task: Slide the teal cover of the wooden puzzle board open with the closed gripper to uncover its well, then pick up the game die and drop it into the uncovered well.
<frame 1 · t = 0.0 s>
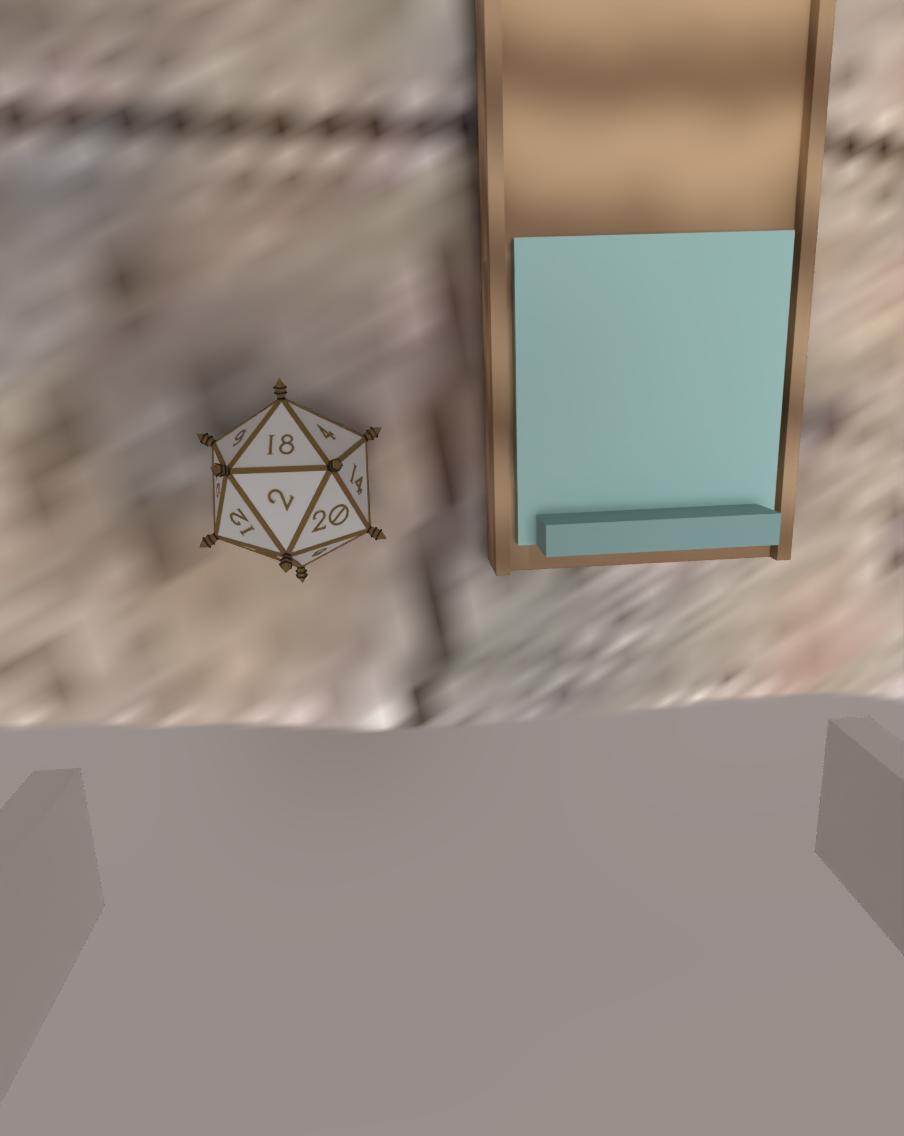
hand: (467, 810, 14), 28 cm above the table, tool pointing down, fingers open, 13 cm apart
cover: (657, 394, 36), point 4 cm above the table, slide at 0.0 cm
game die: (301, 473, 40), on the table
board: (633, 250, 38), on the table
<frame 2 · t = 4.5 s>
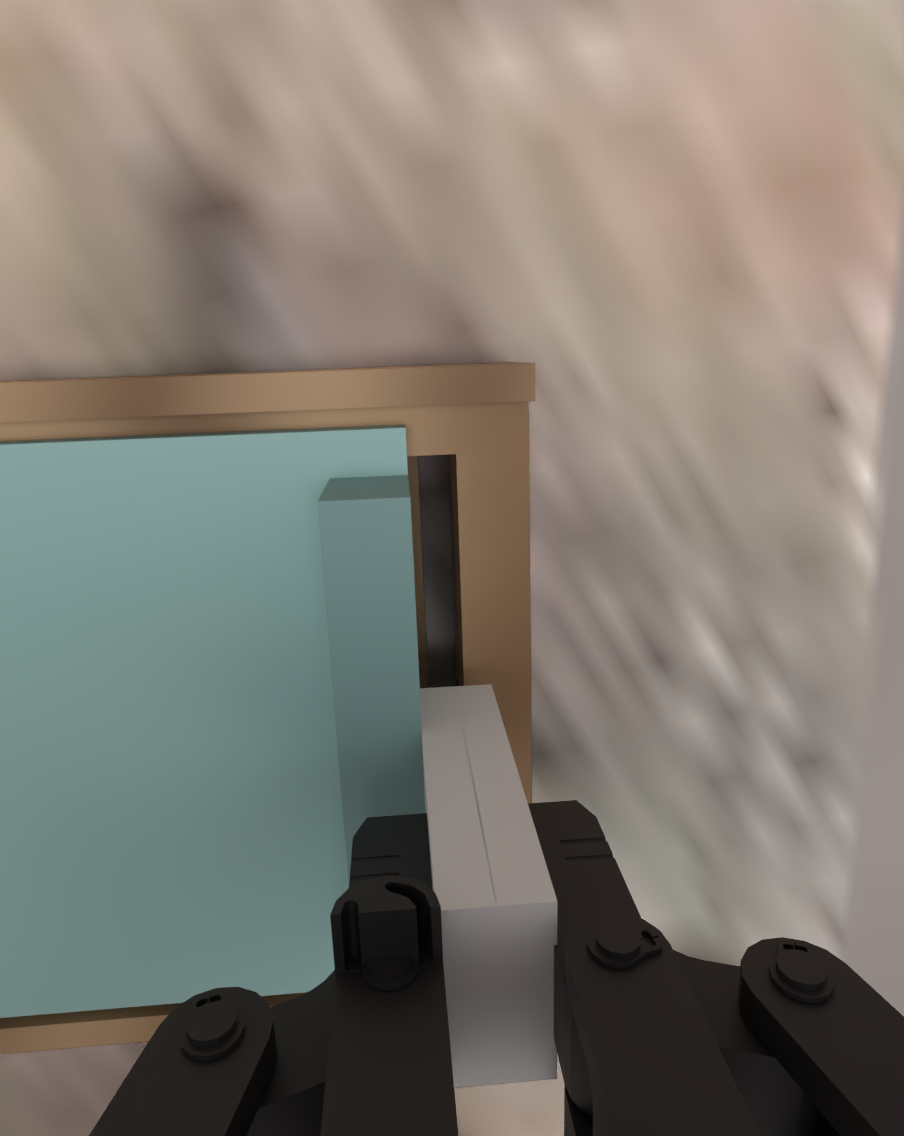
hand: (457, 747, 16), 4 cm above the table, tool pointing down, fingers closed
cover: (65, 776, 15), point 4 cm above the table, slide at 1.0 cm, touching gripper
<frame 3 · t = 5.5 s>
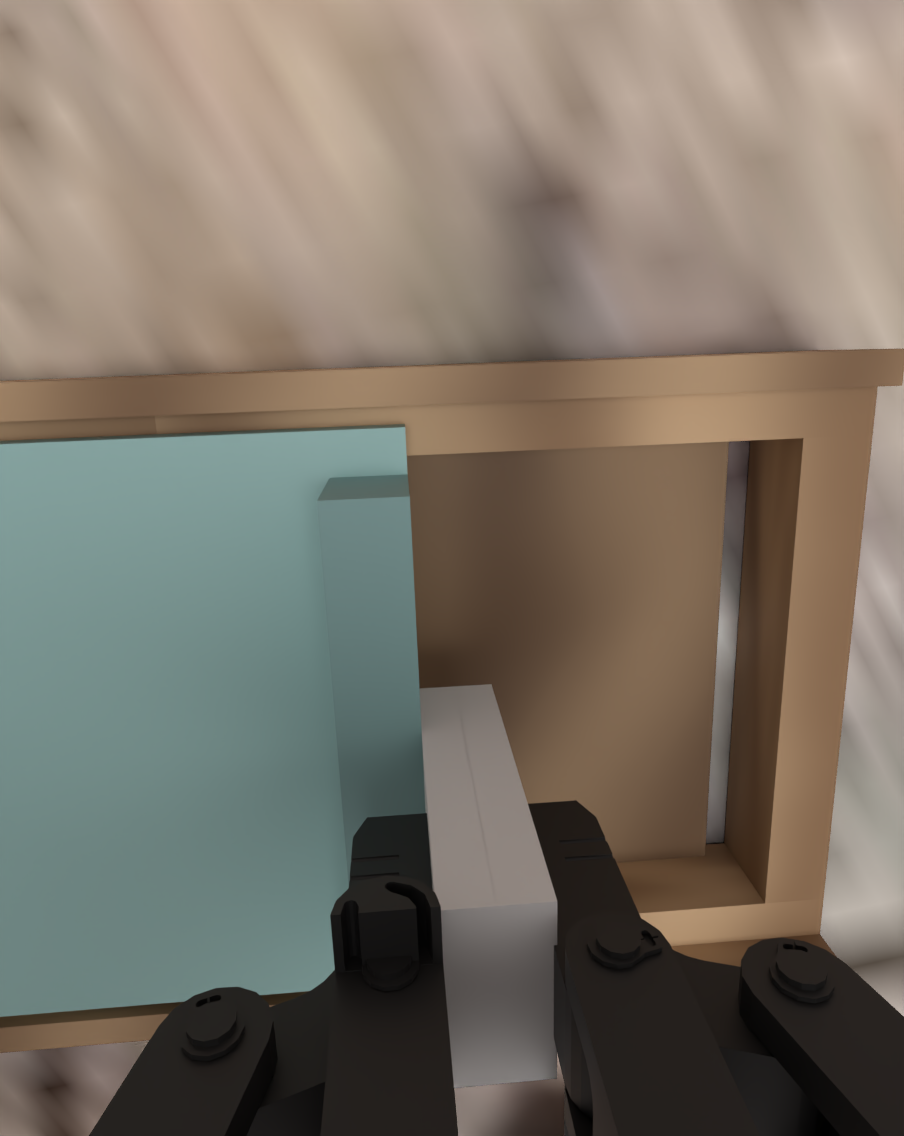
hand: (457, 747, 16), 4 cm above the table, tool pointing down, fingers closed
cover: (66, 775, 15), point 4 cm above the table, slide at 8.4 cm, touching gripper
board: (200, 683, 19), on the table
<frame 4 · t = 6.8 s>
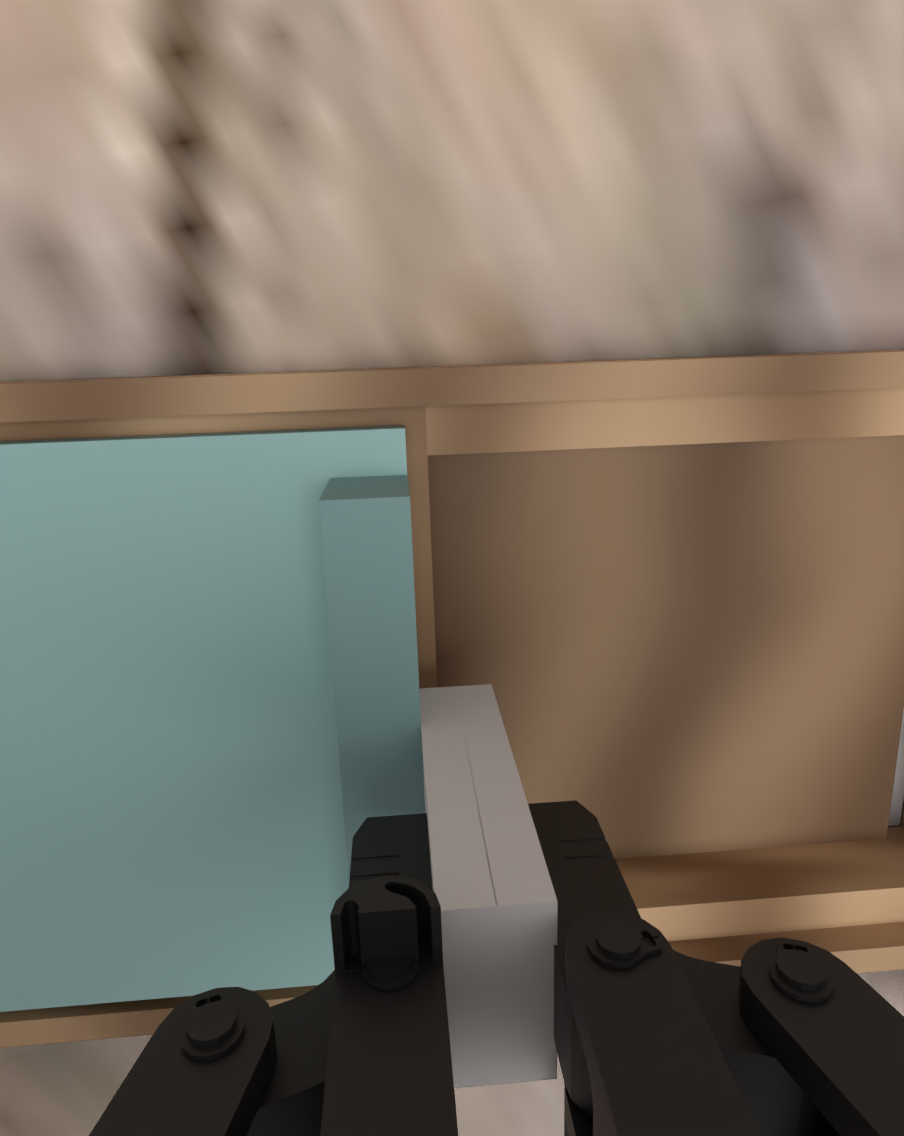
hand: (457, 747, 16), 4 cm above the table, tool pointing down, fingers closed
cover: (69, 771, 15), point 4 cm above the table, slide at 13.7 cm, touching gripper
board: (413, 668, 20), on the table
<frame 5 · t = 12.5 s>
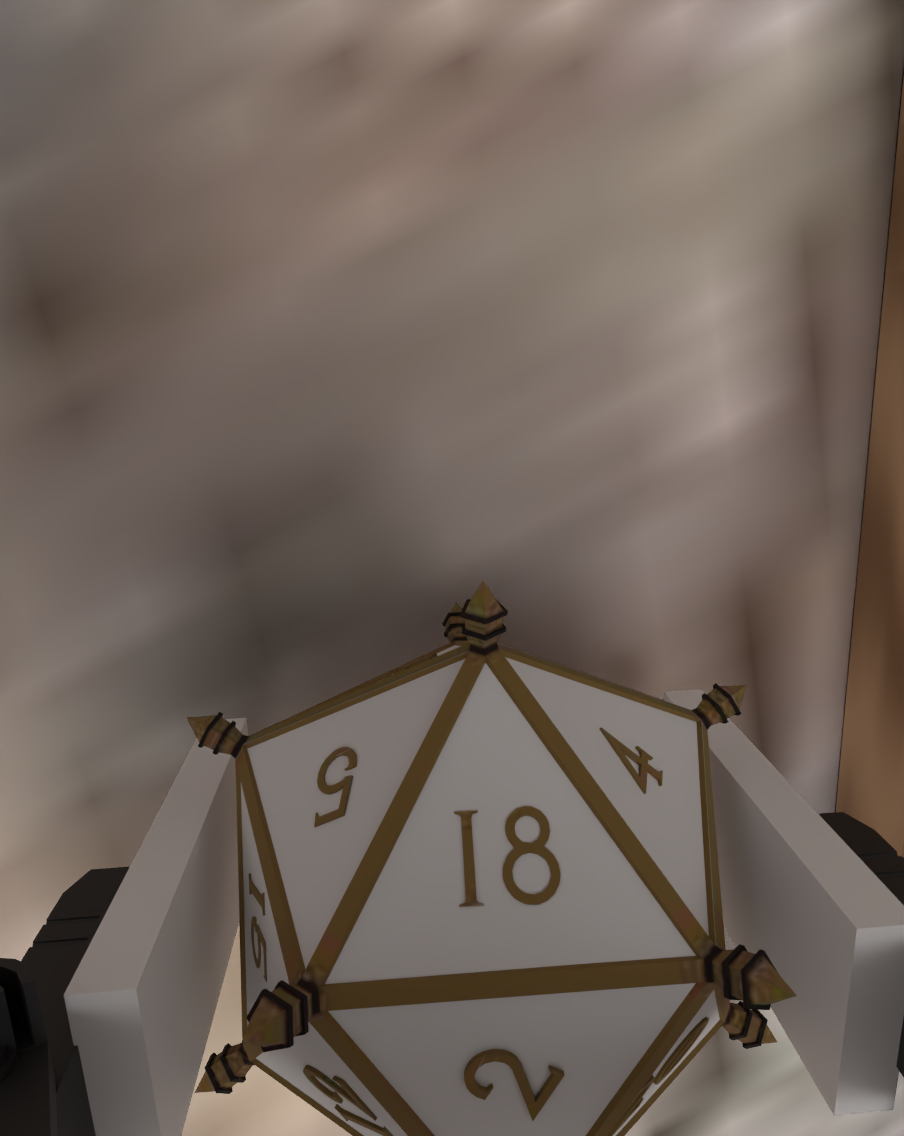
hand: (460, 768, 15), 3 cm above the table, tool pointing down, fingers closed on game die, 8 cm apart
game die: (459, 743, 16), point 2 cm above the table, touching gripper
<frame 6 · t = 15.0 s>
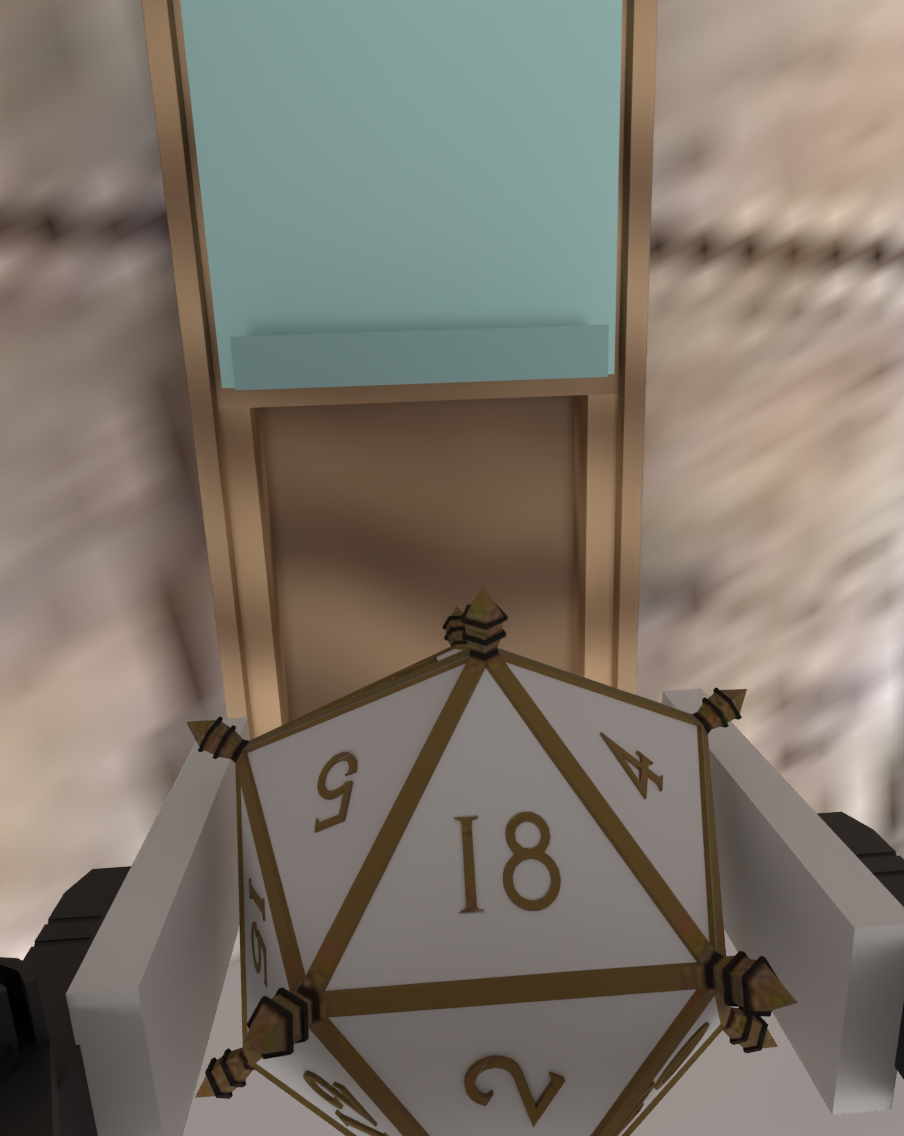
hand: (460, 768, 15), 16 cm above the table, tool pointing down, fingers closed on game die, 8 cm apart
cover: (411, 135, 23), point 4 cm above the table, slide at 13.9 cm
game die: (459, 746, 16), point 15 cm above the table, touching gripper
board: (418, 383, 29), on the table
when the fingers open (4 cm above the table, at t = 17.5 s): game die moves 2 cm, resting on board.
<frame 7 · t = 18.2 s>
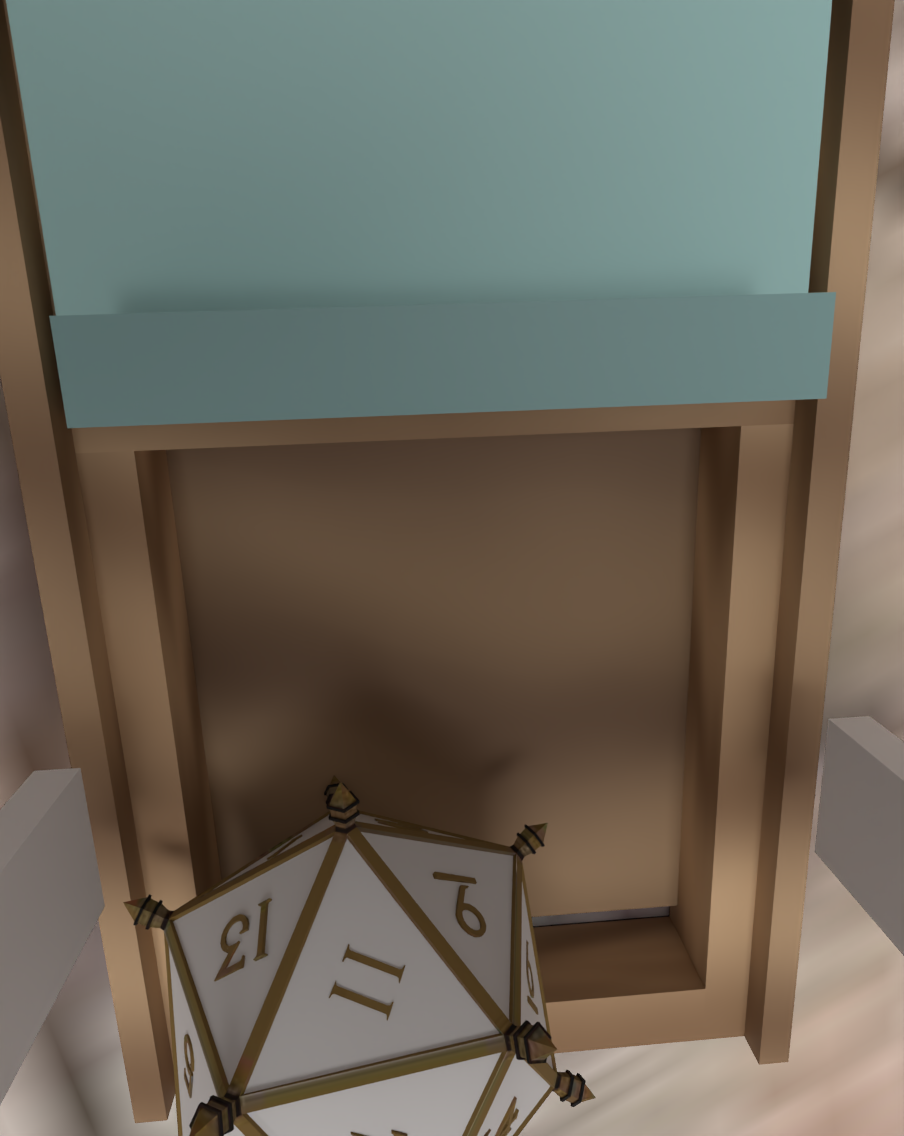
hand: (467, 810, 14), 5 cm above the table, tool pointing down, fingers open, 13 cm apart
game die: (410, 782, 16), point 3 cm above the table, touching board
board: (436, 403, 17), on the table
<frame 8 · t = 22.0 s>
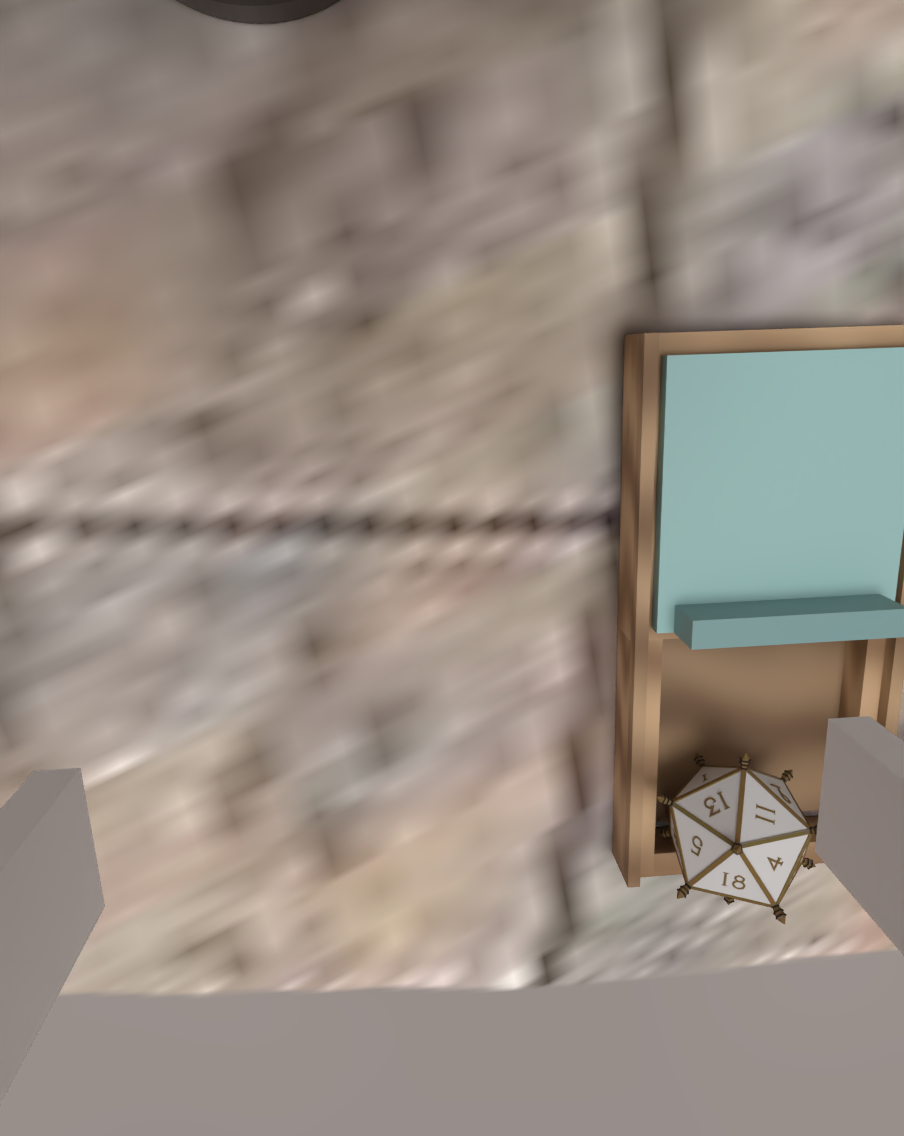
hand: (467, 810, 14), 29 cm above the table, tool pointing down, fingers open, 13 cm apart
cover: (794, 498, 38), point 4 cm above the table, slide at 13.9 cm
game die: (744, 754, 44), point 3 cm above the table, touching board
board: (747, 610, 44), on the table
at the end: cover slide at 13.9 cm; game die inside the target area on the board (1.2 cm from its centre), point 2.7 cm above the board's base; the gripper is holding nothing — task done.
